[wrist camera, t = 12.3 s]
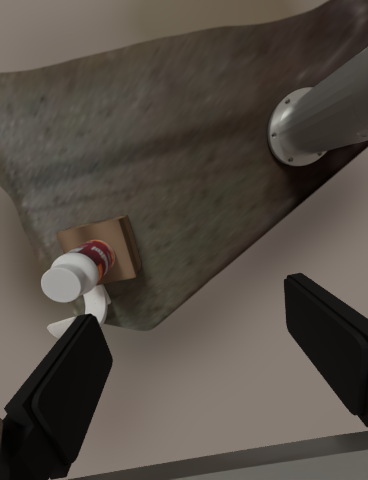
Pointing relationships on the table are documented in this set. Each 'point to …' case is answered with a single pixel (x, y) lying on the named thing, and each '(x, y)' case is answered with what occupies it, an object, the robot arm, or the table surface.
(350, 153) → the table surface
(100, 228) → the walnut block
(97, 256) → the pill bottle
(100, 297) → the headphone stand
